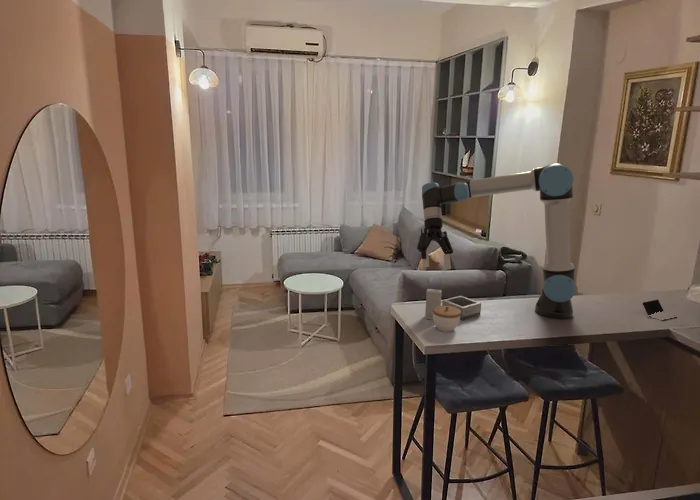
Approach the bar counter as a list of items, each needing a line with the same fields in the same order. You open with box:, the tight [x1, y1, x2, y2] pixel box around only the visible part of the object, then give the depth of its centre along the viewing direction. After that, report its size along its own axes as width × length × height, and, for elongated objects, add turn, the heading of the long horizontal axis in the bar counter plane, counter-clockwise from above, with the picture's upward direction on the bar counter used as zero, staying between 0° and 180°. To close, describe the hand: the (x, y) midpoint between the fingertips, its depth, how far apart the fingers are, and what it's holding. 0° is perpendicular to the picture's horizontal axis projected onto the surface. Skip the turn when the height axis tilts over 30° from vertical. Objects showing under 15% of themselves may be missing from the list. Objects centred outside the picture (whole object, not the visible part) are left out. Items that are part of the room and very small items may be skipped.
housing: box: [441, 295, 482, 321], centre depth 199 cm, size 11×11×6 cm
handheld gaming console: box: [642, 299, 665, 316], centre depth 204 cm, size 12×7×10 cm
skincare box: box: [424, 288, 443, 321], centre depth 193 cm, size 6×4×12 cm
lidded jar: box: [432, 305, 461, 333], centre depth 182 cm, size 11×11×9 cm
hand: (437, 268), depth 194 cm, fingers open, 13 cm apart
